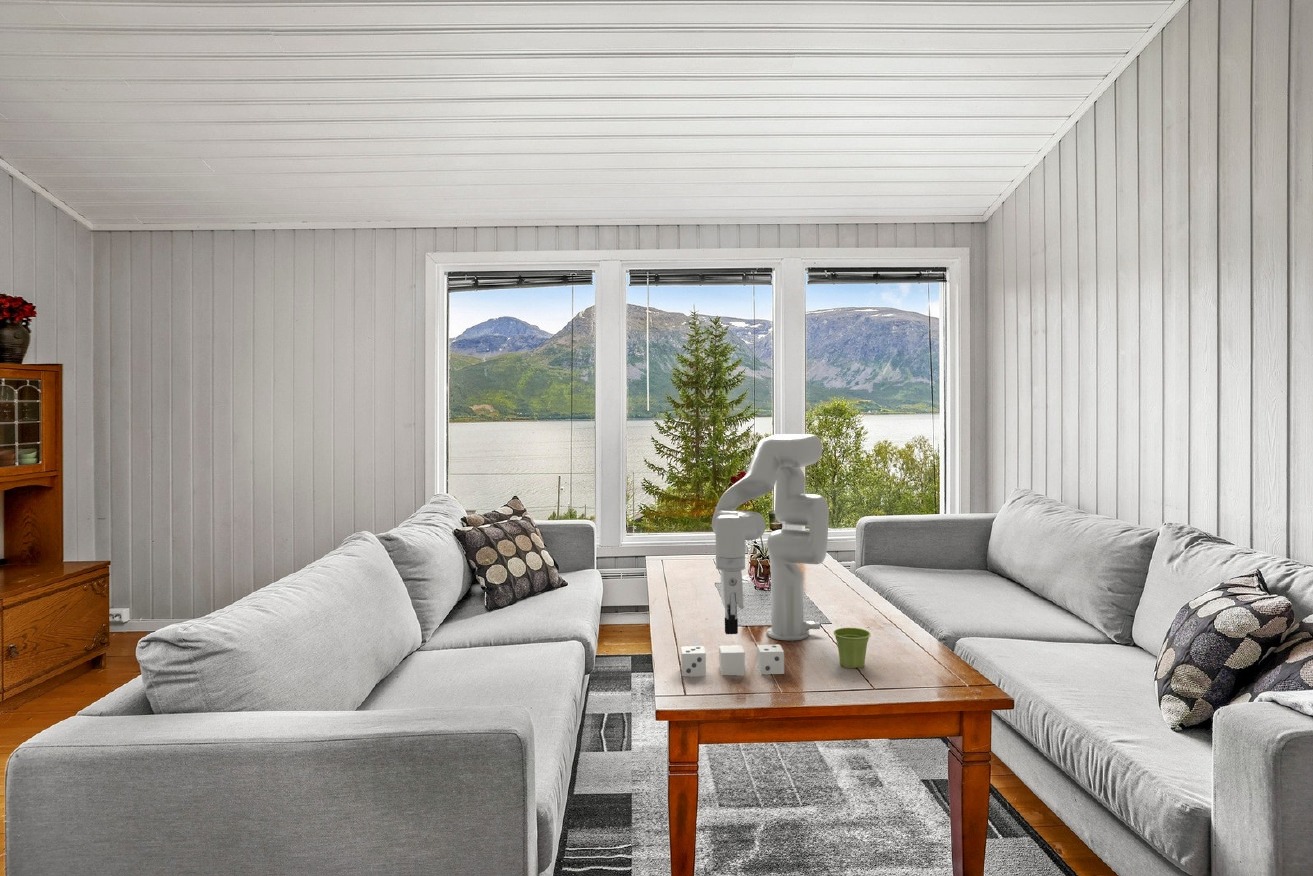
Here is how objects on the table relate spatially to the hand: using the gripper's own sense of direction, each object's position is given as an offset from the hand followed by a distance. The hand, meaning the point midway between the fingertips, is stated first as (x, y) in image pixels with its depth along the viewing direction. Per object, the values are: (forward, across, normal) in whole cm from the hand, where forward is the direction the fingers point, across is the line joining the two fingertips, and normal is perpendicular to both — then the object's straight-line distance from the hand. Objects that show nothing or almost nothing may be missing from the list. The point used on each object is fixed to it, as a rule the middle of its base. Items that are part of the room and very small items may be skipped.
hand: (731, 633), depth 201 cm
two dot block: (+10, 0, -10) cm, 14 cm away
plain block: (+10, 0, 0) cm, 10 cm away
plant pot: (+10, +3, -32) cm, 34 cm away
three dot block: (+10, 0, +10) cm, 14 cm away
